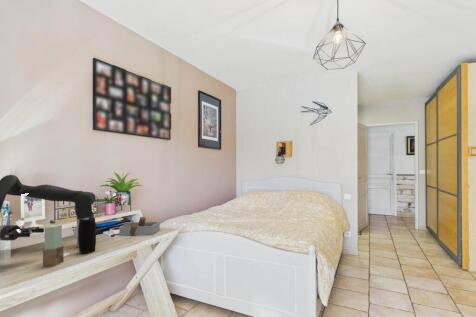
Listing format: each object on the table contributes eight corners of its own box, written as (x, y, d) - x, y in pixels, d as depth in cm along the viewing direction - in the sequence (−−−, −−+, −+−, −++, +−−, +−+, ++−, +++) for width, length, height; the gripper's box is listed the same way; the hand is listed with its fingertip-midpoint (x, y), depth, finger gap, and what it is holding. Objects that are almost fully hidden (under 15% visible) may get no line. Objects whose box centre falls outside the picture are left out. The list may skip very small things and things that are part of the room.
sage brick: (52, 246, 131) (52, 225, 132) (61, 246, 131) (61, 224, 131) (44, 249, 126) (44, 227, 127) (54, 249, 126) (54, 227, 126)
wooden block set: (133, 238, 178) (136, 226, 176) (125, 232, 182) (128, 220, 180) (152, 231, 194) (155, 219, 193) (144, 226, 198) (148, 214, 196)
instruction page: (52, 253, 144) (52, 253, 144) (71, 253, 143) (71, 252, 143) (40, 259, 136) (40, 258, 136) (60, 258, 135) (60, 258, 135)
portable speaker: (75, 255, 140) (75, 219, 141) (82, 249, 150) (82, 216, 150) (92, 253, 142) (92, 218, 143) (98, 248, 152) (97, 215, 152)
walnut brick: (52, 261, 131) (52, 246, 132) (63, 261, 131) (63, 246, 131) (42, 266, 125) (42, 249, 126) (54, 266, 125) (54, 249, 125)
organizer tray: (129, 230, 196) (129, 222, 196) (159, 229, 195) (159, 221, 195) (119, 235, 180) (119, 227, 180) (152, 235, 179) (151, 226, 179)
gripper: (-8, 228, 123) (24, 228, 122) (18, 222, 137) (47, 221, 136) (-8, 244, 122) (24, 244, 122) (18, 236, 137) (47, 236, 136)
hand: (36, 232), depth 129 cm, fingers open, 8 cm apart
